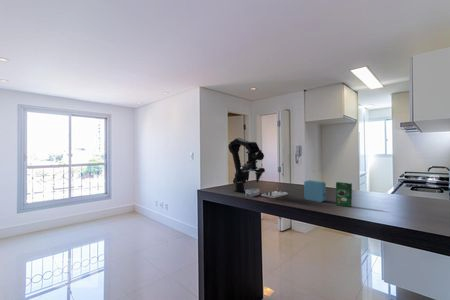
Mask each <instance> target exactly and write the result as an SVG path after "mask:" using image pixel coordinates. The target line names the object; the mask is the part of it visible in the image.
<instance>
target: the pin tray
mask: <svg viewBox="0 0 450 300" xmlns="http://www.w3.org/2000/svg"><path fill="white" fill-rule="evenodd" d="M288 194H289V193H288V192H285V191H284V190H283V188H282V189H280V188H276V190H275V191H269V190H266V192H265V193H261V197H266V198H269V199H275V198H278V197H283V196H287V195H288Z"/></svg>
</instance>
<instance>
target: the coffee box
mask: <svg viewBox="0 0 450 300" xmlns="http://www.w3.org/2000/svg"><path fill="white" fill-rule="evenodd" d="M352 195H353V183H352V182H343V181H342V182H339V181H336V182H335V206H340V207H346V208H347V207H348V208H352V205H353V203H352V202H353V199H352V198H353V196H352Z"/></svg>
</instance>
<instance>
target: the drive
mask: <svg viewBox="0 0 450 300" xmlns="http://www.w3.org/2000/svg"><path fill="white" fill-rule="evenodd" d="M244 190H245V191H244V192H245V193H244V196H245V197H250V198H252V197H257V196H259V195H260V188H256V187H251V188H247V189H244Z"/></svg>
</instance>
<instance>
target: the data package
mask: <svg viewBox="0 0 450 300" xmlns="http://www.w3.org/2000/svg"><path fill="white" fill-rule="evenodd" d="M303 184H304V185H303V190H304V193H303V194H304V195H303V196H304V199H305V200H306V201H312V202H318V203H322V202H325V201H326V199H327V185H326V182H325V181H321V180H320V181H319V180H311V179H309V180H305V181H304V183H303Z"/></svg>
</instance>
